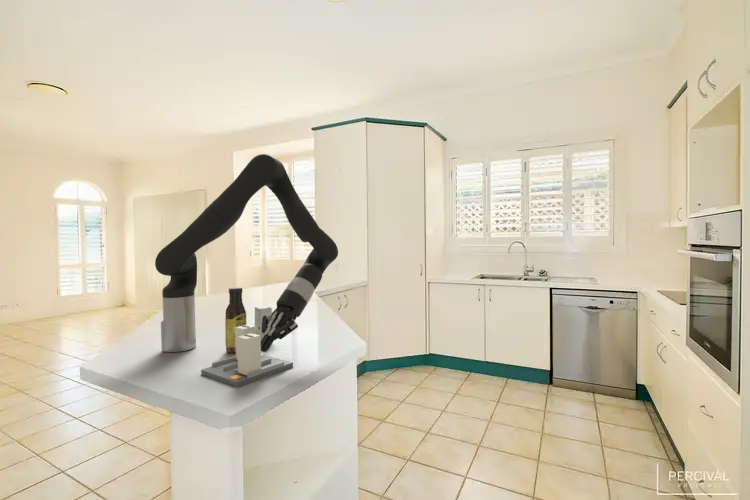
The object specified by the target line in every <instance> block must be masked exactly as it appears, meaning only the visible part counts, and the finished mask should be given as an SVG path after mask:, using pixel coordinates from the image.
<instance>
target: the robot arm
mask: <svg viewBox="0 0 750 500" xmlns="http://www.w3.org/2000/svg"><path fill="white" fill-rule="evenodd" d="M263 187H267V188H268V189H269V190H270V191H271V192H272V193H273V194H274V195H275V197H276V198H277V200H278V201H279V203H280V205H281V207H282V209H283V211H284V214H285V217H286V219H287V221H288V222H289V224H290V226H291V228H292V230H293V231H294V232H295V234H296V235H297V237H298V238H299V239H300V240H301V242H302V243H309V245H311V247H312V248H313V249H312V250H311V251H310V253H309V254H308V255H307V257H306V259H305V261H304V262H303V265H302V266H301V267H300V268H299V270H298V271H297V273H296V274H295V275H294V277H293V279H292V280H291V281H290V282H289V283H288V284H287V286H286V288H285V289H284V290H283V292H282V294H281V295H280V296H279V298H278V299H277V301H276V308H275V309H274V310H272V315H270V316H268V317H267V316H266V315H265V316H263V319H262V330H261V331H262V332H263V333H264V337H263V339H262V340H261V353H262V352H263V353H266V352H267V351H269V349H270V348H271V346H272V345H273V343H274V342H275V341H277V340H278V339H279V340H282V339H283V338H285V337H287V336H288V335H289V334H291V333H292V332H293V331H294V330H296V329H298V327H299V325H298V323H296V321H295V320H297V318H299V317H300V316H301V315H302V313H303V312H304V310H305V308H306V307H307V305H308V304H309V302H310V300H311V299H312V297H313V295H314V292H315V291H316V289H317V287H318V285H320V283H321V281H322V279H323V274H324V273H325V271H326V270H327V268H328V267H329V266H330V264H332V263H333V262H334V261H335V260H336V259H337V258H338V256H339V248H338V246H337V244H336V243H335V241H334V239H333V238H332V237H331V236H330V235H328V234H327V233H326V231H324V230H323V229H322V228H321V227H320V226H319V224H318V223H317V222H316V220H315V219H314V217H313V216H312V214H311V212H310V211H309V209H308V208H307V207H306V205H305V204H304V202H303V201H302V200H301V198H300V197H299V194H298V192H297V190H295V187H294V186H293V184H292V181H291V179H290V176H289V174H288V173H287V170H286V168H285V166H284V164H283V163H282V162H281V161H280V160H279V158H276V157H274V156H273V155H270V154H266V153H260V154H257V155H256V156H253V158H252V159H251V160H250V161H249V162H248V163H247V164H246V165H245V167H244V168H243V170H241V172H240V173H239V174H238V176H237V177H236V178H235V179H234V180H233V181H232V183H230V185H228V187H227V188H225V189H224V191H222V193H220V195H218V197H216V198H215V199H214V200H213V201H212V202H211V203H210V204H209V205H208V206H207V207H206V208H205V209H204V210H203V211H202V212H201V214H200V215H198V217H197V218H196V219H194V221H192V223H190V224H189V225H188V226H187V228H186V229H184V231H183V232H181V233H180V234H179V235H178V236H177V237H176V238H174V239H173V240H172V241H170V242H169V243H168V244H167V245H165V246H164V247H163V248H162V249H161V250H160V251H159V252H158V253H157V256H156V258H155V259H154V260H155V261H154V267H155V269H156V271H157V272H158V273H159V274H161V275H163V276H168V277H170V280H169V282H168V283H167V285H165V286H164V287H163V288H162V291H161V292H162V316H163V317H162V319H163V320H162V321H160V338H161V340H160V341H161V343H160V345H161V352H166V353H179V352H186V351H189V350H192V349H195V348H196V347H197V332H196V330H197V329H196V302H195V300H196V298H195V296H196V295H195V292H196V291H195V290H196V287H197V285H198V284H197V283H198V260H197V255H196V254H195V253H196V252H198V251H199V250H200V249H201V248H203V247H205V246H206V245H208V244H210V243H212V242H213V241H215V240H216V239H219V238H220V237H222V236H223V235H225V234H226V233H227V232H228V231H229V230H230V229H231V228H232V227H233V226H234V225H235V224H236V223H237V222H238V221H239V219H240V218H241V217H242V215H243V213H244V210H245V209H246V206H247V204H248V203H249V201H250V200H251V198H252V197H253V196H254V195H255V194H256V193H257V192H259V191H260V190H261V189H262V188H263Z"/></svg>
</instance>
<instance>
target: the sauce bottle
mask: <svg viewBox="0 0 750 500" xmlns="http://www.w3.org/2000/svg"><path fill="white" fill-rule="evenodd" d="M228 294H229V297H228V298H229V301H228V302H229V304H227V307H226V310H225V318H224V319H225V320H224V321H225V323H224V324H225V326H224V327H225V351H226V353H228V354H230V353H231V354H236V353H235V352H236V346H235V327H239V326H242V325H247V311H246V308H245V305H244V303H243V287H230V288H228Z"/></svg>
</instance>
